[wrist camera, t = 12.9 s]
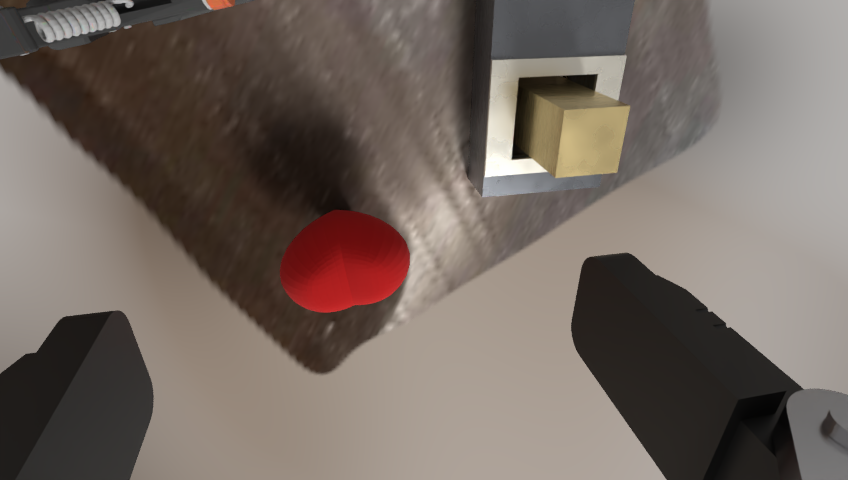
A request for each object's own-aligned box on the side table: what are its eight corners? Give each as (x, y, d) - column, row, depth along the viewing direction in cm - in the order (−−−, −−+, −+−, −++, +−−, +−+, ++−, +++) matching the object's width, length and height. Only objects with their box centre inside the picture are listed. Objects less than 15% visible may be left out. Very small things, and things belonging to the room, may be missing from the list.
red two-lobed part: (388, 172, 40) (410, 228, 31) (400, 245, 43) (423, 313, 35) (273, 195, 39) (263, 259, 30) (295, 267, 42) (292, 344, 34)
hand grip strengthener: (278, -5, 32) (258, 12, 19) (85, 38, 31) (-73, 86, 18) (266, -44, 31) (236, -54, 18) (65, -1, 30) (-119, 21, 17)
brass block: (506, 78, 38) (564, 110, 29) (558, 75, 39) (630, 105, 30) (502, 133, 40) (555, 178, 32) (552, 130, 41) (616, 172, 32)
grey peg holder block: (484, -190, 30) (509, -212, 26) (632, -181, 31) (675, -201, 28) (467, 178, 41) (483, 198, 38) (576, 169, 43) (601, 188, 39)
